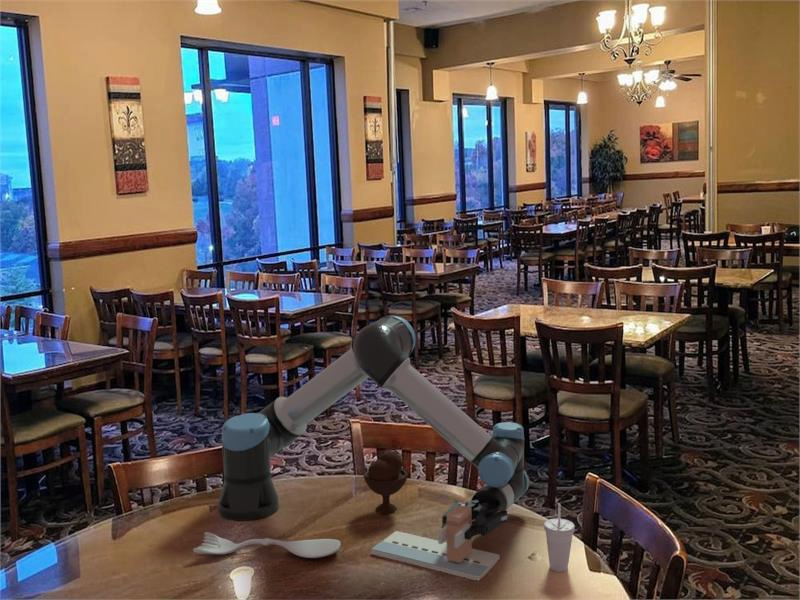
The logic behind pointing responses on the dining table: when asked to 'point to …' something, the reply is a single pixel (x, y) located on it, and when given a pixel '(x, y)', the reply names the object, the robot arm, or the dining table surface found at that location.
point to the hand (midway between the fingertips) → (448, 539)
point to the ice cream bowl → (386, 479)
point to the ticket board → (434, 555)
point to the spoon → (298, 548)
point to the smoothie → (559, 541)
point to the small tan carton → (454, 524)
